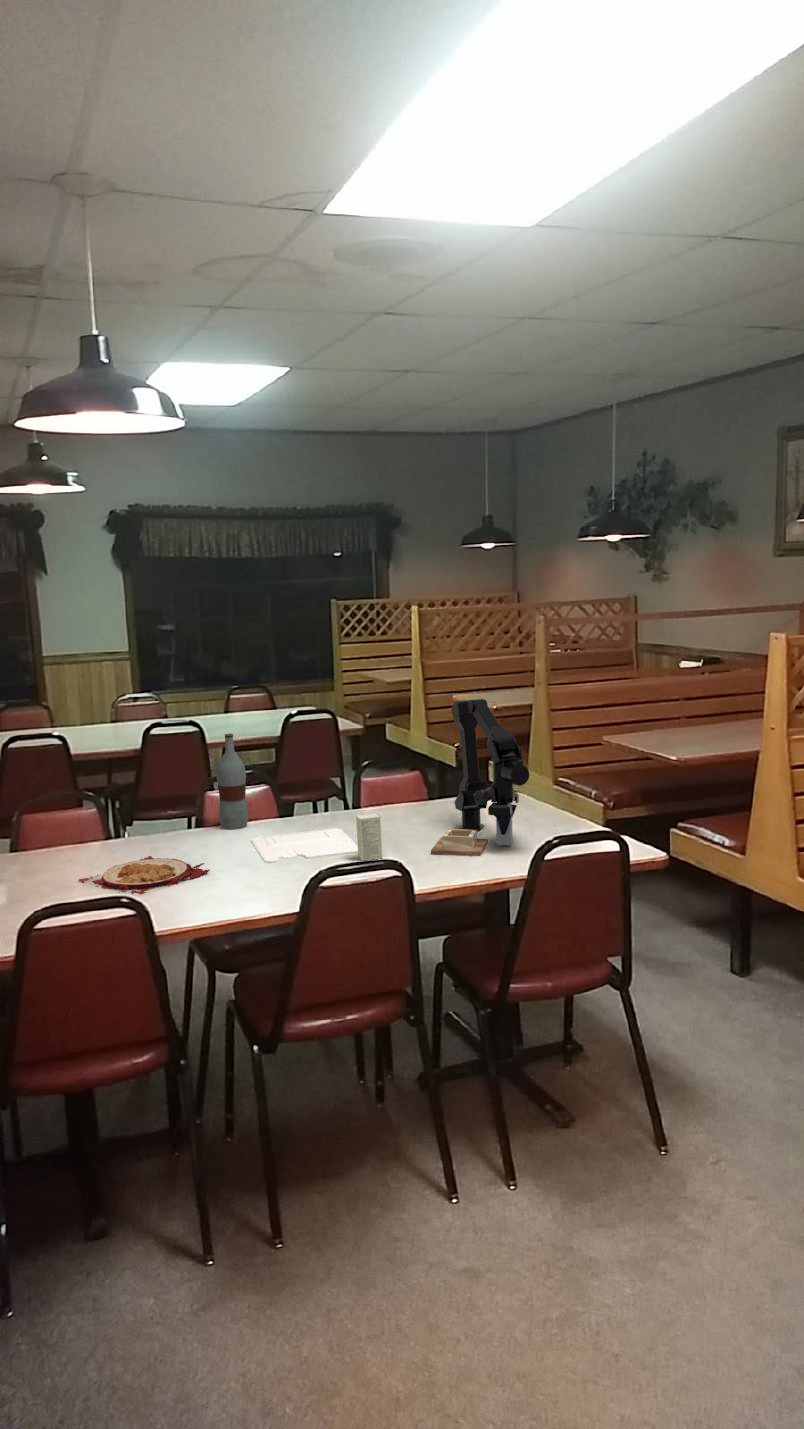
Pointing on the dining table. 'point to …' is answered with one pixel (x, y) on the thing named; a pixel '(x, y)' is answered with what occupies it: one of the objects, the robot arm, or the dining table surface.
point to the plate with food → (147, 874)
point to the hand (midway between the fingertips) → (504, 832)
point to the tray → (304, 845)
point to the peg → (506, 838)
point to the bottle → (232, 788)
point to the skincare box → (369, 836)
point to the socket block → (460, 843)
